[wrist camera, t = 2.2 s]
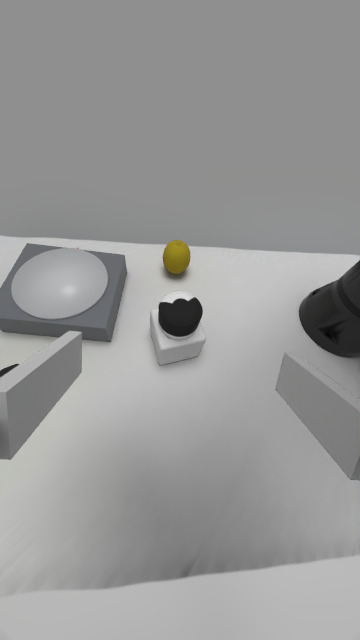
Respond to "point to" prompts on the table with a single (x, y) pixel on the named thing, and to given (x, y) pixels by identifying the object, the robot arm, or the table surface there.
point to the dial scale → (63, 292)
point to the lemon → (176, 256)
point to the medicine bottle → (177, 327)
